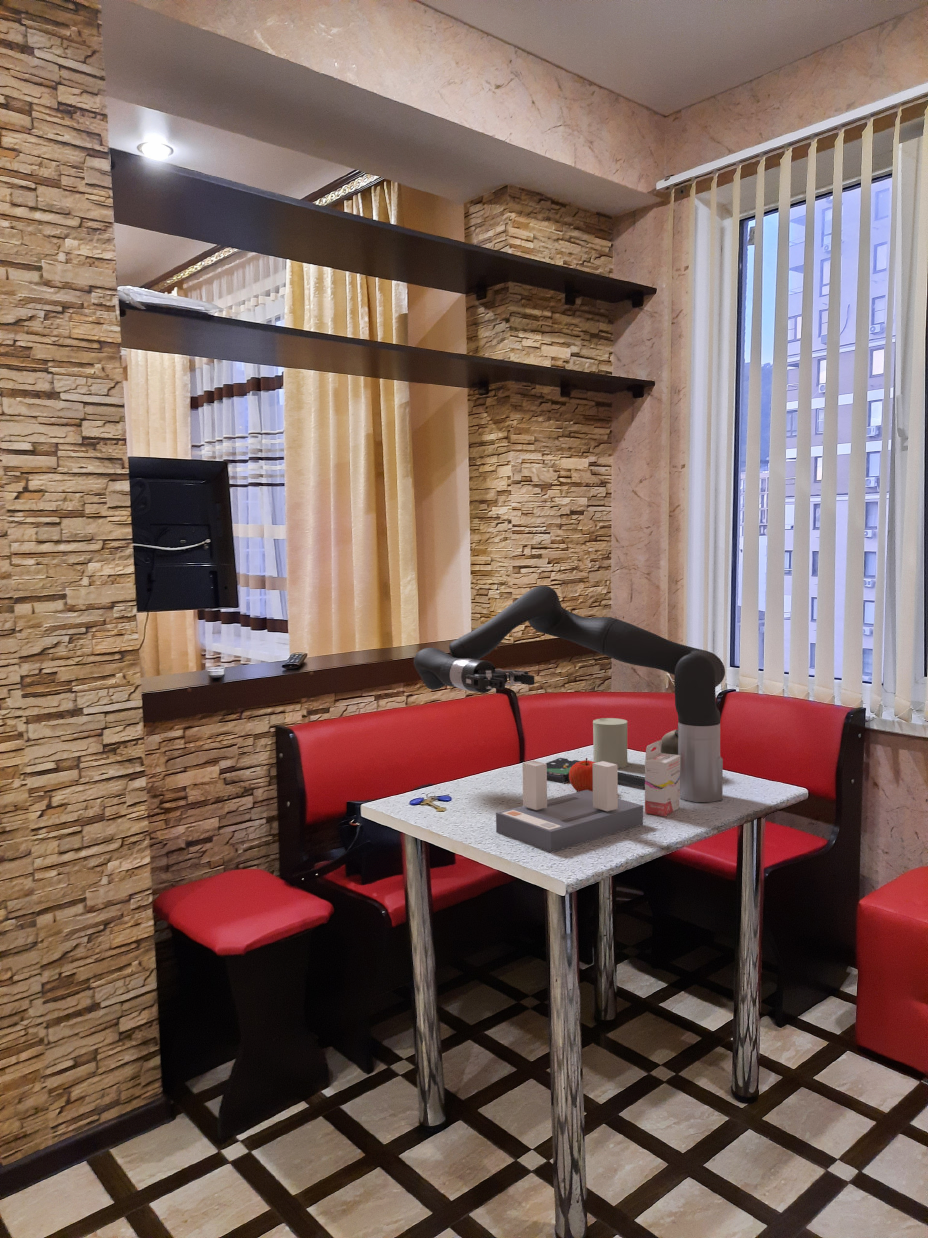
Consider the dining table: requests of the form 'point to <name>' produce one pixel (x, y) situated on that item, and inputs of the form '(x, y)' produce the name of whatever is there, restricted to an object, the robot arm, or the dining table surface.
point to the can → (610, 741)
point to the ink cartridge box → (661, 781)
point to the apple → (582, 775)
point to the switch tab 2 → (605, 786)
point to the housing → (567, 821)
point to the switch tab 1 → (535, 785)
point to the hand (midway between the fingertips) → (518, 682)
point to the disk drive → (559, 770)
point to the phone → (631, 781)
